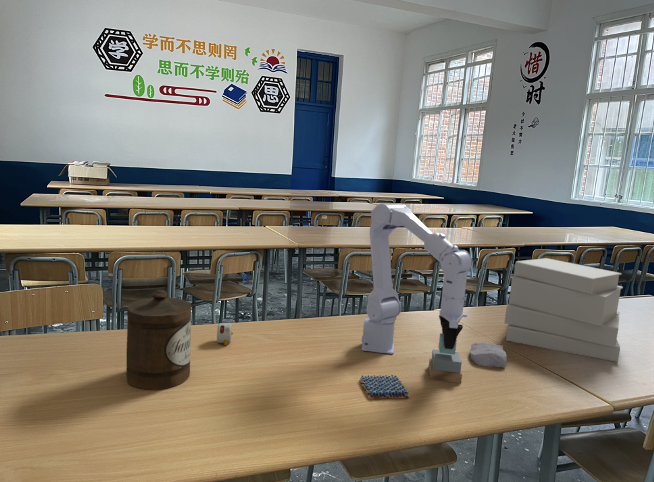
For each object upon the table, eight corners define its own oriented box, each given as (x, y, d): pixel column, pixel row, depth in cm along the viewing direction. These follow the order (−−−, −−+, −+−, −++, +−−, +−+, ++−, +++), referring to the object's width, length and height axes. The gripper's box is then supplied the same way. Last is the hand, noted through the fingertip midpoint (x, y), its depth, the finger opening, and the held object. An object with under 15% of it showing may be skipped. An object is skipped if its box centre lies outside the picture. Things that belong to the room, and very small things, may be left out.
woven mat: (396, 380, 126) (397, 373, 126) (410, 400, 116) (411, 392, 116) (358, 381, 124) (358, 374, 124) (368, 401, 114) (369, 393, 114)
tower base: (429, 380, 127) (430, 370, 127) (428, 368, 135) (429, 358, 135) (460, 384, 126) (462, 374, 126) (457, 372, 134) (458, 361, 134)
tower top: (433, 369, 127) (434, 359, 127) (431, 359, 134) (432, 349, 134) (460, 373, 126) (461, 362, 126) (457, 362, 133) (458, 352, 133)
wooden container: (186, 389, 113) (187, 299, 110) (119, 390, 111) (119, 298, 107) (193, 363, 128) (194, 283, 124) (134, 364, 125) (134, 281, 122)
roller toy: (233, 338, 147) (233, 320, 146) (231, 346, 141) (232, 327, 140) (218, 338, 146) (218, 320, 145) (216, 346, 140) (216, 327, 139)
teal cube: (439, 352, 128) (441, 338, 127) (438, 347, 132) (440, 333, 131) (455, 354, 127) (456, 340, 127) (453, 349, 131) (455, 335, 131)
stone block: (473, 370, 139) (509, 369, 137) (471, 354, 139) (507, 352, 137) (468, 356, 151) (502, 354, 149) (467, 342, 151) (500, 339, 149)
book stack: (624, 368, 143) (639, 284, 139) (500, 344, 157) (510, 267, 153) (612, 338, 171) (623, 267, 167) (507, 319, 185) (515, 253, 180)
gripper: (472, 305, 119) (466, 357, 122) (465, 291, 134) (460, 337, 136) (443, 302, 120) (438, 354, 123) (439, 288, 135) (434, 334, 137)
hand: (447, 345), depth 129 cm, fingers closed on teal cube, 4 cm apart
